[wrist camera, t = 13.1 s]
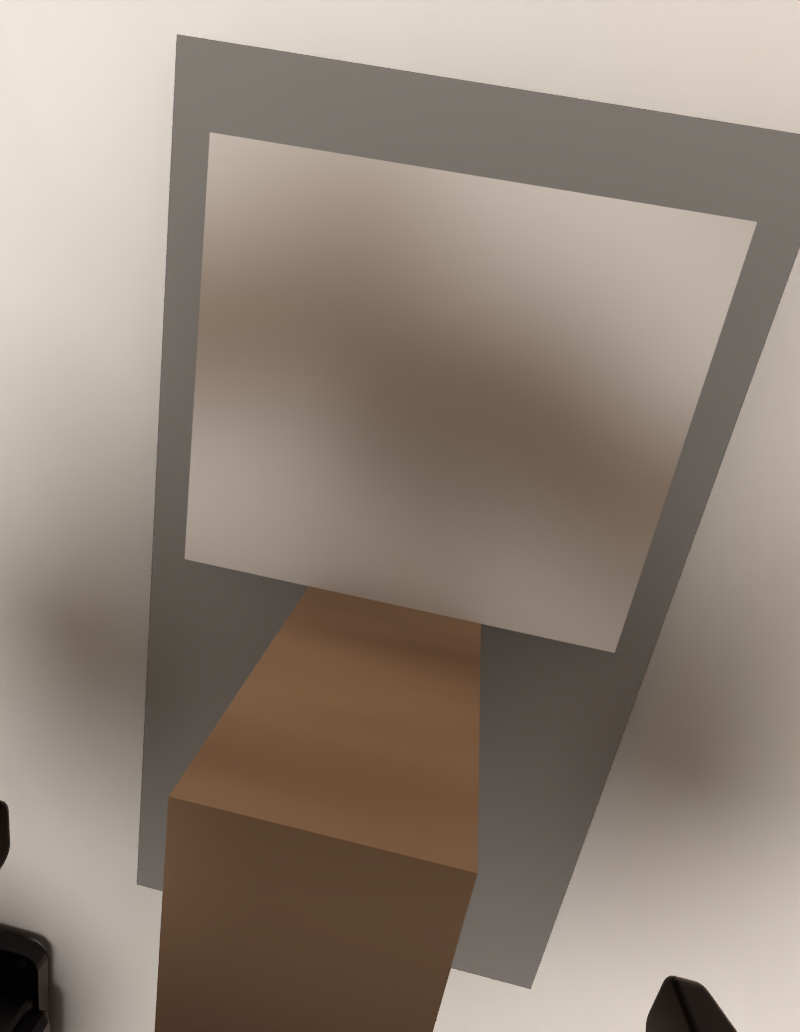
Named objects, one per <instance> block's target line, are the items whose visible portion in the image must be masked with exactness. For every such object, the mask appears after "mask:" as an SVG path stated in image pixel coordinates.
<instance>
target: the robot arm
mask: <svg viewBox="0 0 800 1032" xmlns="http://www.w3.org/2000/svg"><path fill="white" fill-rule="evenodd" d="M9 848H10V831H9V810H8V806H7V804H6V803H5V802H4V801H1V800H0V869H1V867H2V866H3V864H4V862H5V860H6V858H7V855H8V853H9ZM0 1032H50V1022H49V988H48V956H47V952H46V951H45V949H44V948H43V947H42V946H41V945H39V944H38V943H36V942H34V941H32V940H28V939H25V938H21V937H17V936H14V935H10V934H6V933H3V932H0ZM646 1032H737V1031H736V1029H735V1028H734V1027H733V1025H732V1024H731V1022H730V1021H729V1020H728V1018H727V1017H726V1015H725V1014H724V1012H723V1011H722V1010H721V1008H720V1007H719V1005H718V1004H717V1003H716V1001H715V1000H714V998H713V997H712V996H711V994H710V993H709V992H708V990H707V989H706V988H705V987H704V986H703V985H701V984H700V983H698V982H696V981H692V980H688V979H685V978H681V977H677V976H669V977H667V978H666V979H665V980H664V982H663V984H662V986H661V988H660V990H659V992H658V995H657V997H656V999H655V1001H654V1003H653V1005H652V1007H651V1010H650V1012H649V1014H648V1017H647V1022H646Z"/></svg>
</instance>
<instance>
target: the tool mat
mask: <svg viewBox="0 0 800 1032" xmlns="http://www.w3.org/2000/svg"><path fill="white" fill-rule="evenodd" d="M210 132H212V133H218V134H224V135H230V136H236V137H242V138H248V139H254V140H260V141H266V142H273V143H279V144H285V145H291V146H297V147H303V148H309V149H315V150H321V151H327V152H334V153H340V154H346V155H352V156H358V157H364V158H370V159H376V160H382V161H389V162H395V163H401V164H407V165H413V166H419V167H425V168H431V169H437V170H443V171H450V172H456V173H462V174H468V175H474V176H480V177H486V178H492V179H498V180H505V181H511V182H517V183H523V184H529V185H535V186H541V187H547V188H553V189H559V190H566V191H572V192H578V193H584V194H590V195H596V196H602V197H608V198H614V199H620V200H627V201H633V202H639V203H645V204H651V205H657V206H663V207H669V208H675V209H682V210H688V211H694V212H700V213H706V214H712V215H718V216H724V217H730V218H736V219H743V220H749V221H755V222H757V224H756V227H755V230H754V233H753V236H752V239H751V242H750V245H749V248H748V251H747V254H746V257H745V260H744V263H743V266H742V269H741V273H740V276H739V279H738V282H737V285H736V288H735V291H734V294H733V297H732V300H731V303H730V306H729V309H728V312H727V315H726V318H725V321H724V324H723V327H722V330H721V333H720V336H719V339H718V342H717V345H716V348H715V351H714V354H713V357H712V360H711V363H710V366H709V369H708V372H707V375H706V378H705V381H704V384H703V387H702V390H701V393H700V396H699V399H698V402H697V405H696V408H695V411H694V415H693V418H692V421H691V424H690V427H689V430H688V433H687V436H686V439H685V442H684V445H683V448H682V451H681V454H680V457H679V460H678V463H677V466H676V469H675V472H674V475H673V478H672V481H671V484H670V487H669V490H668V493H667V496H666V499H665V502H664V505H663V508H662V511H661V514H660V517H659V520H658V523H657V526H656V529H655V532H654V535H653V538H652V541H651V544H650V547H649V550H648V554H647V557H646V560H645V563H644V566H643V569H642V572H641V575H640V578H639V581H638V584H637V587H636V590H635V593H634V596H633V599H632V602H631V605H630V608H629V611H628V614H627V617H626V620H625V623H624V626H623V629H622V632H621V635H620V638H619V641H618V644H617V647H616V650H615V653H613V652H608V651H604V650H599V649H594V648H590V647H585V646H581V645H576V644H572V643H567V642H562V641H558V640H553V639H549V638H544V637H539V636H535V635H530V634H526V633H521V632H517V631H512V630H507V629H503V628H498V627H494V626H489V625H485V624H481V645H480V727H479V810H478V874H477V878H476V881H475V885H474V888H473V892H472V895H471V899H470V902H469V906H468V909H467V913H466V916H465V920H464V923H463V927H462V930H461V934H460V937H459V941H458V944H457V948H456V951H455V955H454V958H453V962H452V965H451V968H454V969H457V970H461V971H465V972H469V973H472V974H476V975H480V976H484V977H487V978H491V979H495V980H499V981H502V982H506V983H510V984H514V985H517V986H521V987H525V988H529V989H531V986H532V984H533V981H534V978H535V975H536V973H537V970H538V967H539V964H540V962H541V959H542V956H543V953H544V951H545V948H546V945H547V942H548V940H549V937H550V934H551V931H552V929H553V926H554V923H555V920H556V917H557V915H558V912H559V909H560V906H561V904H562V901H563V898H564V895H565V893H566V890H567V887H568V884H569V882H570V879H571V876H572V873H573V871H574V868H575V865H576V862H577V860H578V857H579V854H580V851H581V849H582V846H583V843H584V840H585V838H586V835H587V832H588V829H589V826H590V824H591V821H592V818H593V815H594V813H595V810H596V807H597V804H598V802H599V799H600V796H601V793H602V791H603V788H604V785H605V782H606V780H607V777H608V774H609V771H610V769H611V766H612V763H613V760H614V758H615V755H616V752H617V749H618V747H619V744H620V741H621V738H622V735H623V733H624V730H625V727H626V724H627V722H628V719H629V716H630V713H631V711H632V708H633V705H634V702H635V700H636V697H637V694H638V691H639V689H640V686H641V683H642V680H643V678H644V675H645V672H646V669H647V667H648V664H649V661H650V658H651V656H652V653H653V650H654V647H655V644H656V642H657V639H658V636H659V633H660V631H661V628H662V625H663V622H664V620H665V617H666V614H667V611H668V609H669V606H670V603H671V600H672V598H673V595H674V592H675V589H676V587H677V584H678V581H679V578H680V576H681V573H682V570H683V567H684V565H685V562H686V559H687V556H688V553H689V551H690V548H691V545H692V542H693V540H694V537H695V534H696V531H697V529H698V526H699V523H700V520H701V518H702V515H703V512H704V509H705V507H706V504H707V501H708V498H709V496H710V493H711V490H712V487H713V485H714V482H715V479H716V476H717V474H718V471H719V468H720V465H721V463H722V460H723V457H724V454H725V451H726V449H727V446H728V443H729V440H730V438H731V435H732V432H733V429H734V427H735V424H736V421H737V418H738V416H739V413H740V410H741V407H742V405H743V402H744V399H745V396H746V394H747V391H748V388H749V385H750V383H751V380H752V377H753V374H754V372H755V369H756V366H757V363H758V360H759V358H760V355H761V352H762V349H763V347H764V344H765V341H766V338H767V336H768V333H769V330H770V327H771V325H772V322H773V319H774V316H775V314H776V311H777V308H778V305H779V303H780V300H781V297H782V294H783V292H784V289H785V286H786V283H787V281H788V278H789V275H790V272H791V269H792V267H793V264H794V261H795V258H796V256H797V253H798V250H799V247H800V134H795V133H789V132H783V131H777V130H771V129H764V128H758V127H752V126H746V125H739V124H733V123H727V122H721V121H714V120H708V119H702V118H696V117H689V116H683V115H677V114H671V113H664V112H658V111H652V110H646V109H639V108H633V107H627V106H621V105H614V104H608V103H602V102H596V101H590V100H583V99H577V98H571V97H565V96H558V95H552V94H546V93H540V92H533V91H527V90H521V89H515V88H508V87H502V86H496V85H490V84H483V83H477V82H471V81H465V80H458V79H452V78H446V77H440V76H433V75H427V74H421V73H415V72H409V71H402V70H396V69H390V68H384V67H377V66H371V65H365V64H359V63H352V62H346V61H340V60H334V59H327V58H321V57H315V56H309V55H302V54H296V53H290V52H284V51H277V50H271V49H265V48H259V47H252V46H246V45H240V44H234V43H227V42H221V41H215V40H209V39H203V38H196V37H190V36H184V35H178V34H177V42H176V64H175V85H174V106H173V128H172V149H171V170H170V191H169V213H168V234H167V255H166V276H165V298H164V319H163V340H162V361H161V383H160V404H159V425H158V446H157V468H156V489H155V510H154V531H153V553H152V574H151V595H150V616H149V638H148V659H147V680H146V701H145V723H144V744H143V765H142V787H141V808H140V829H139V850H138V872H137V884H138V885H142V886H145V887H149V888H153V889H157V890H160V891H163V880H164V862H165V845H166V828H167V811H168V796H169V795H170V793H171V792H172V790H173V789H174V787H175V786H176V784H177V783H178V781H179V780H180V778H181V777H182V775H183V774H184V772H185V771H186V769H187V768H188V766H189V765H190V763H191V762H192V760H193V759H194V757H195V756H196V754H197V753H198V751H199V750H200V748H201V747H202V745H203V744H204V742H205V741H206V739H207V738H208V736H209V735H210V733H211V732H212V730H213V729H214V727H215V726H216V724H217V723H218V721H219V720H220V718H221V717H222V715H223V714H224V712H225V711H226V709H227V708H228V706H229V705H230V703H231V702H232V700H233V699H234V697H235V696H236V694H237V693H238V691H239V690H240V688H241V687H242V685H243V684H244V682H245V681H246V679H247V678H248V676H249V675H250V673H251V672H252V670H253V669H254V667H255V666H256V664H257V663H258V661H259V660H260V658H261V657H262V655H263V654H264V652H265V651H266V649H267V648H268V646H269V645H270V643H271V642H272V641H273V639H274V638H275V636H276V635H277V633H278V632H279V630H280V629H281V627H282V626H283V624H284V623H285V621H286V620H287V618H288V617H289V615H290V614H291V612H292V611H293V609H294V608H295V606H296V605H297V603H298V602H299V600H300V599H301V597H302V596H303V594H304V593H305V591H306V590H307V588H308V587H309V586H306V585H301V584H297V583H292V582H288V581H283V580H278V579H274V578H269V577H265V576H260V575H255V574H251V573H246V572H242V571H237V570H233V569H228V568H223V567H219V566H214V565H210V564H205V563H200V562H196V561H191V560H187V559H185V543H186V526H187V509H188V492H189V475H190V459H191V442H192V425H193V408H194V391H195V374H196V358H197V341H198V324H199V307H200V290H201V273H202V256H203V240H204V223H205V206H206V189H207V172H208V155H209V138H210Z"/></svg>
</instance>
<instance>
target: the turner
mask: <svg viewBox="0 0 800 1032" xmlns="http://www.w3.org/2000/svg"><path fill="white" fill-rule="evenodd" d="M756 224H757V222H755V221H749V220H743V219H736V218H730V217H724V216H718V215H712V214H706V213H700V212H694V211H688V210H682V209H675V208H669V207H663V206H657V205H651V204H645V203H639V202H633V201H627V200H620V199H614V198H608V197H602V196H596V195H590V194H584V193H578V192H572V191H566V190H559V189H553V188H547V187H541V186H535V185H529V184H523V183H517V182H511V181H505V180H498V179H492V178H486V177H480V176H474V175H468V174H462V173H456V172H450V171H443V170H437V169H431V168H425V167H419V166H413V165H407V164H401V163H395V162H389V161H382V160H376V159H370V158H364V157H358V156H352V155H346V154H340V153H334V152H327V151H321V150H315V149H309V148H303V147H297V146H291V145H285V144H279V143H273V142H266V141H260V140H254V139H248V138H242V137H236V136H230V135H224V134H218V133H212V132H210V138H209V155H208V172H207V189H206V206H205V223H204V240H203V256H202V273H201V290H200V307H199V324H198V341H197V358H196V374H195V391H194V408H193V425H192V442H191V459H190V475H189V492H188V509H187V526H186V543H185V559H187V560H191V561H196V562H200V563H205V564H210V565H214V566H219V567H223V568H228V569H233V570H237V571H242V572H246V573H251V574H255V575H260V576H265V577H269V578H274V579H278V580H283V581H288V582H292V583H297V584H301V585H306V586H309V587H308V588H307V590H306V591H305V593H304V594H303V596H302V597H301V599H300V600H299V602H298V603H297V605H296V606H295V608H294V609H293V611H292V612H291V614H290V615H289V617H288V618H287V620H286V621H285V623H284V624H283V626H282V627H281V629H280V630H279V632H278V633H277V635H276V636H275V638H274V639H273V641H272V642H271V643H270V645H269V646H268V648H267V649H266V651H265V652H264V654H263V655H262V657H261V658H260V660H259V661H258V663H257V664H256V666H255V667H254V669H253V670H252V672H251V673H250V675H249V676H248V678H247V679H246V681H245V682H244V684H243V685H242V687H241V688H240V690H239V691H238V693H237V694H236V696H235V697H234V699H233V700H232V702H231V703H230V705H229V706H228V708H227V709H226V711H225V712H224V714H223V715H222V717H221V718H220V720H219V721H218V723H217V724H216V726H215V727H214V729H213V730H212V732H211V733H210V735H209V736H208V738H207V739H206V741H205V742H204V744H203V745H202V747H201V748H200V750H199V751H198V753H197V754H196V756H195V757H194V759H193V760H192V762H191V763H190V765H189V766H188V768H187V769H186V771H185V772H184V774H183V775H182V777H181V778H180V780H179V781H178V783H177V784H176V786H175V787H174V789H173V790H172V792H171V793H170V795H169V796H168V811H167V828H166V845H165V862H164V880H163V897H162V914H161V931H160V949H159V966H158V983H157V1001H156V1018H155V1032H433V1029H434V1025H435V1022H436V1018H437V1015H438V1011H439V1008H440V1004H441V1001H442V997H443V994H444V990H445V987H446V983H447V980H448V976H449V972H450V969H451V965H452V962H453V958H454V955H455V951H456V948H457V944H458V941H459V937H460V934H461V930H462V927H463V923H464V920H465V916H466V913H467V909H468V906H469V902H470V899H471V895H472V892H473V888H474V885H475V881H476V878H477V874H478V810H479V727H480V645H481V624H485V625H489V626H494V627H498V628H503V629H507V630H512V631H517V632H521V633H526V634H530V635H535V636H539V637H544V638H549V639H553V640H558V641H562V642H567V643H572V644H576V645H581V646H585V647H590V648H594V649H599V650H604V651H608V652H613V653H615V650H616V647H617V644H618V641H619V638H620V635H621V632H622V629H623V626H624V623H625V620H626V617H627V614H628V611H629V608H630V605H631V602H632V599H633V596H634V593H635V590H636V587H637V584H638V581H639V578H640V575H641V572H642V569H643V566H644V563H645V560H646V557H647V554H648V550H649V547H650V544H651V541H652V538H653V535H654V532H655V529H656V526H657V523H658V520H659V517H660V514H661V511H662V508H663V505H664V502H665V499H666V496H667V493H668V490H669V487H670V484H671V481H672V478H673V475H674V472H675V469H676V466H677V463H678V460H679V457H680V454H681V451H682V448H683V445H684V442H685V439H686V436H687V433H688V430H689V427H690V424H691V421H692V418H693V415H694V411H695V408H696V405H697V402H698V399H699V396H700V393H701V390H702V387H703V384H704V381H705V378H706V375H707V372H708V369H709V366H710V363H711V360H712V357H713V354H714V351H715V348H716V345H717V342H718V339H719V336H720V333H721V330H722V327H723V324H724V321H725V318H726V315H727V312H728V309H729V306H730V303H731V300H732V297H733V294H734V291H735V288H736V285H737V282H738V279H739V276H740V273H741V269H742V266H743V263H744V260H745V257H746V254H747V251H748V248H749V245H750V242H751V239H752V236H753V233H754V230H755V227H756Z"/></svg>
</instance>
